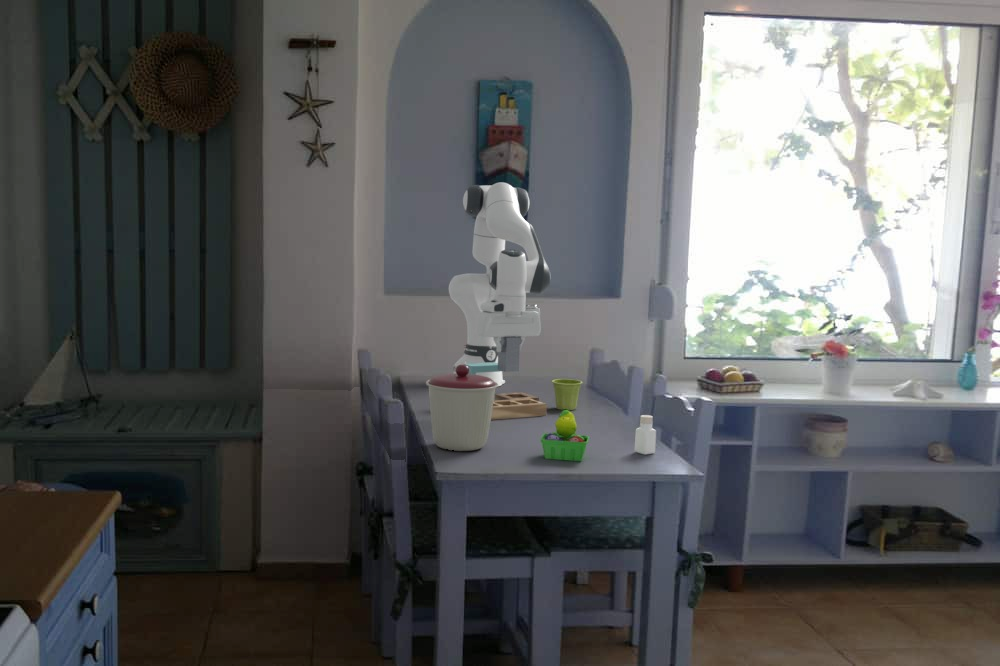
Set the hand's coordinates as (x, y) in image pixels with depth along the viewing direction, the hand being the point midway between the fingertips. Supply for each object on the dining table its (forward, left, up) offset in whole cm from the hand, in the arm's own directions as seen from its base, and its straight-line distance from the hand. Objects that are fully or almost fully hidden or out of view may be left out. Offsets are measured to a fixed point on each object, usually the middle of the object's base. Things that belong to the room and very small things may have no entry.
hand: (508, 351), depth 290 cm
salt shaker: (+55, +8, -19) cm, 59 cm away
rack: (0, 0, -19) cm, 19 cm away
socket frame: (-12, +3, -19) cm, 23 cm away
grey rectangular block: (0, 0, -6) cm, 6 cm away
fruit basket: (+51, -14, -19) cm, 56 cm away
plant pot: (-2, +23, -19) cm, 30 cm away
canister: (+32, -33, -19) cm, 50 cm away
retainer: (-12, -3, -18) cm, 22 cm away
